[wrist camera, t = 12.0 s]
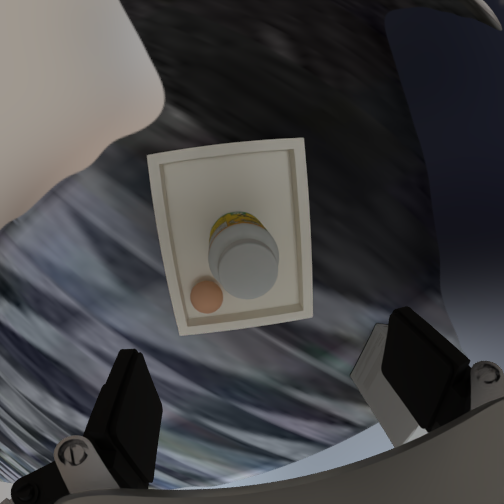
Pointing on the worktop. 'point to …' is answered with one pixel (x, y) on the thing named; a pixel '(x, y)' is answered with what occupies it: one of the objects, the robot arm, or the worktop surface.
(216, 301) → the ball
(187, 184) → the tray
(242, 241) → the supplement bottle
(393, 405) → the supplement box
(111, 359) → the worktop surface
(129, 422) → the robot arm
